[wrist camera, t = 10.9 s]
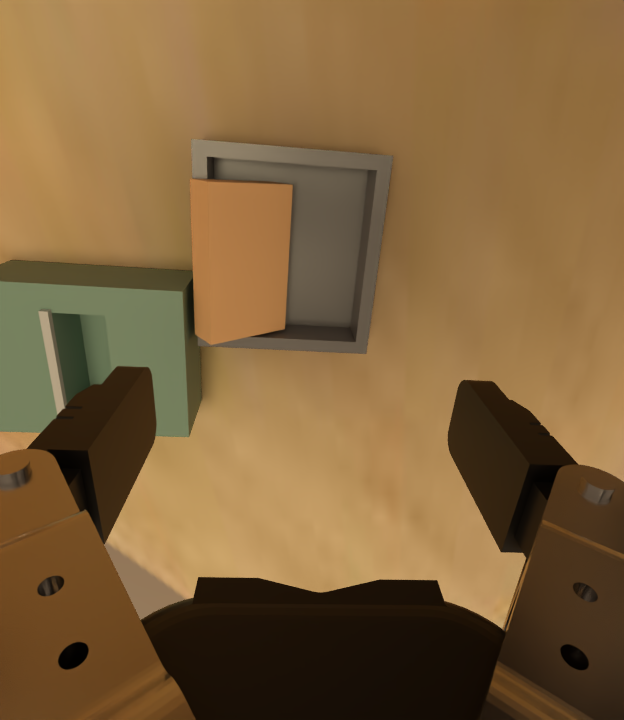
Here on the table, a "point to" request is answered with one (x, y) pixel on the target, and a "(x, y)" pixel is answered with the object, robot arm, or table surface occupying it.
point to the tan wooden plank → (239, 257)
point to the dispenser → (95, 339)
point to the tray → (316, 237)
